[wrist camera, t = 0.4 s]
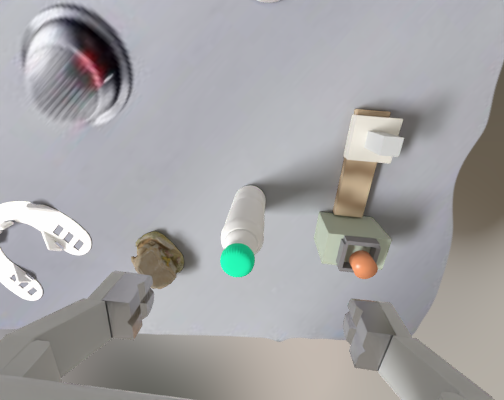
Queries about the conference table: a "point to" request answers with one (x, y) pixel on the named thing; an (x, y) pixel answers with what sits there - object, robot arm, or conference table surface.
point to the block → (355, 180)
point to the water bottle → (243, 231)
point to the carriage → (373, 139)
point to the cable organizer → (46, 223)
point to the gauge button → (363, 264)
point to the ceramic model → (157, 259)
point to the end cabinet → (349, 239)
